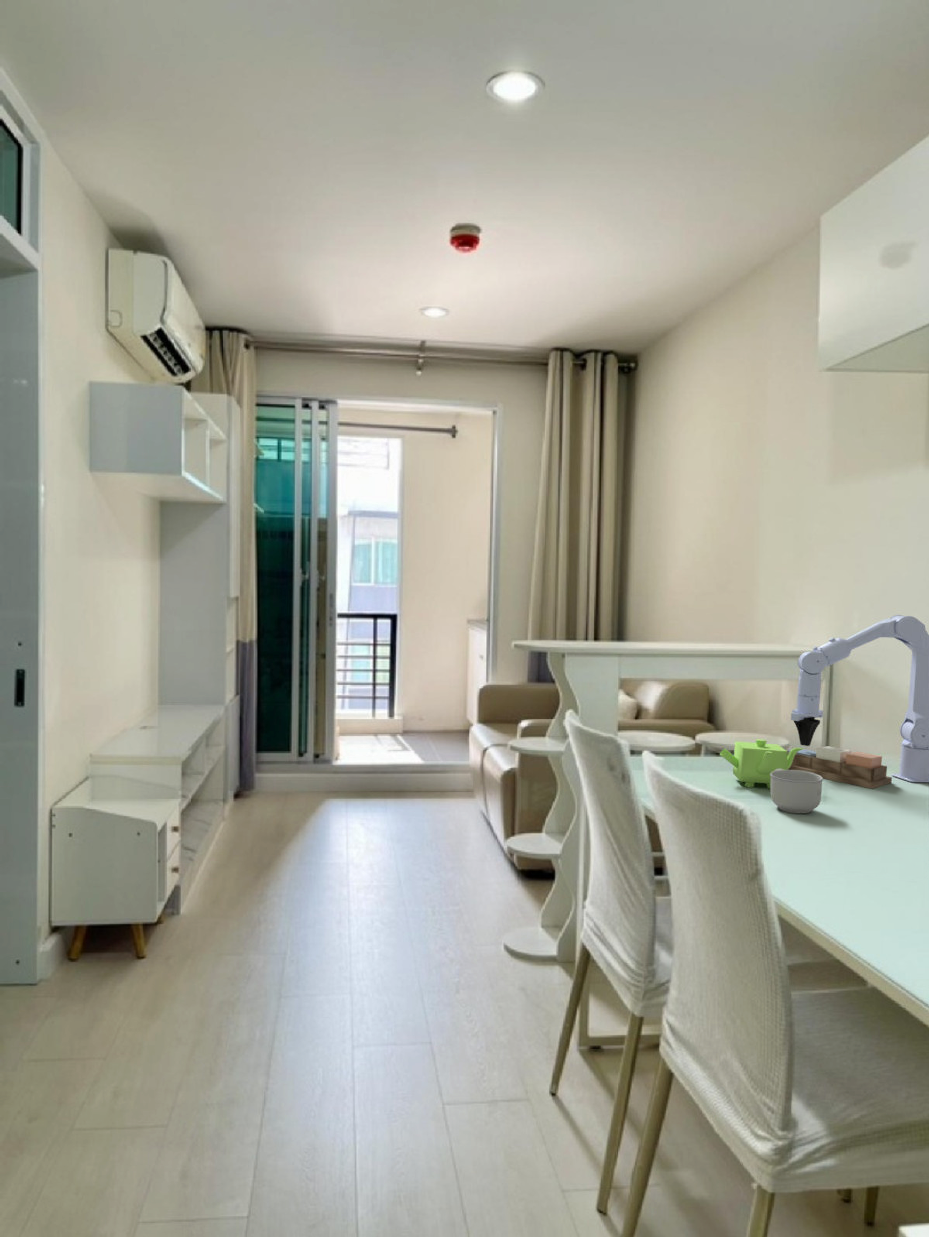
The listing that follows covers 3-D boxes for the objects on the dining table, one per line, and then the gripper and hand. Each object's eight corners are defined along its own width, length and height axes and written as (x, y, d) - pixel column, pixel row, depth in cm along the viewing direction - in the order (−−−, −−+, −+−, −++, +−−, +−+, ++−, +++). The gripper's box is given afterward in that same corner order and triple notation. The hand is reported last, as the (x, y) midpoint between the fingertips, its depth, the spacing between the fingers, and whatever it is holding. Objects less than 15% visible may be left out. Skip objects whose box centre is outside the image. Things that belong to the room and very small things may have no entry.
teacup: (827, 818, 188) (830, 781, 188) (777, 815, 188) (779, 778, 188) (804, 801, 202) (806, 767, 201) (756, 798, 202) (759, 764, 202)
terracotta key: (881, 768, 227) (882, 756, 227) (870, 771, 223) (871, 758, 223) (856, 763, 232) (857, 751, 232) (845, 766, 228) (846, 753, 227)
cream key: (850, 762, 233) (851, 750, 233) (839, 764, 229) (840, 752, 229) (826, 757, 238) (827, 746, 238) (815, 760, 233) (816, 748, 233)
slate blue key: (820, 764, 239) (821, 752, 239) (809, 766, 235) (810, 754, 235) (797, 759, 244) (798, 748, 244) (786, 762, 239) (787, 750, 239)
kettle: (801, 787, 216) (804, 742, 216) (771, 795, 207) (775, 748, 206) (746, 775, 227) (749, 732, 227) (716, 781, 218) (719, 736, 217)
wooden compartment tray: (891, 783, 228) (892, 765, 228) (872, 788, 220) (873, 770, 220) (796, 763, 247) (797, 747, 247) (775, 768, 239) (776, 751, 239)
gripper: (807, 692, 246) (803, 740, 247) (781, 695, 236) (778, 744, 237) (831, 695, 241) (828, 744, 242) (807, 698, 231) (803, 749, 232)
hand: (805, 745), depth 239 cm, fingers closed
